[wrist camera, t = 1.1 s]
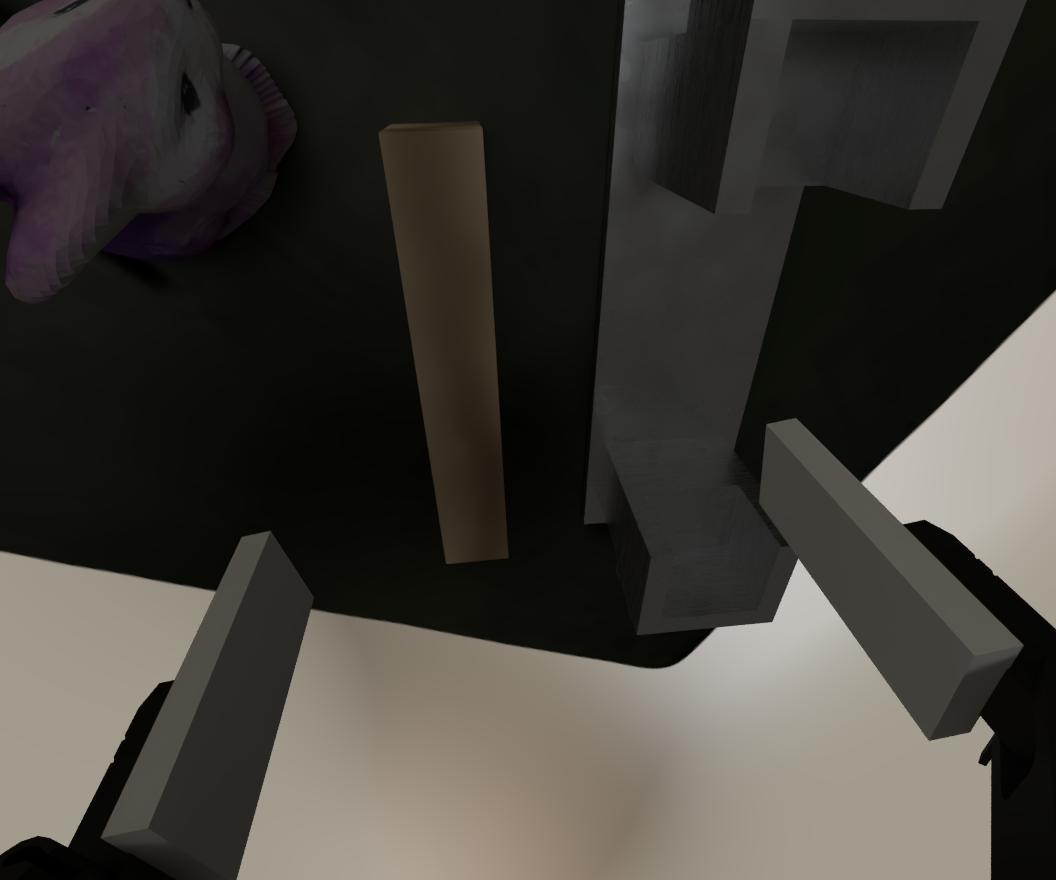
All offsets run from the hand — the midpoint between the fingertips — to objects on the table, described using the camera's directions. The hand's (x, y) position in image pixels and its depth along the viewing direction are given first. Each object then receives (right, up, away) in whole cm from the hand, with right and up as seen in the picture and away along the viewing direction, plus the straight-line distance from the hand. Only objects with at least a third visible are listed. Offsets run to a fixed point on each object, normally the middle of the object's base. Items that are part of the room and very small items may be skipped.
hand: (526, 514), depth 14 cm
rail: (-4, +7, +17) cm, 19 cm away
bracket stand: (+9, +9, +17) cm, 21 cm away
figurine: (-15, +16, +9) cm, 24 cm away
